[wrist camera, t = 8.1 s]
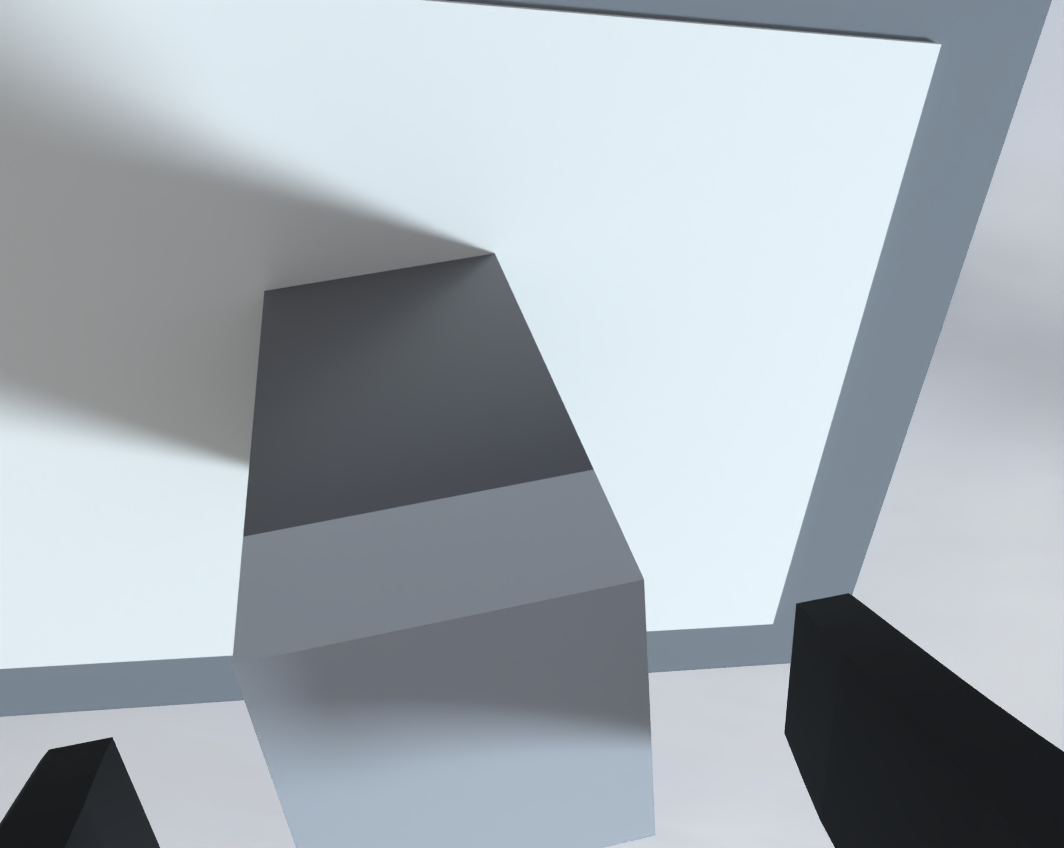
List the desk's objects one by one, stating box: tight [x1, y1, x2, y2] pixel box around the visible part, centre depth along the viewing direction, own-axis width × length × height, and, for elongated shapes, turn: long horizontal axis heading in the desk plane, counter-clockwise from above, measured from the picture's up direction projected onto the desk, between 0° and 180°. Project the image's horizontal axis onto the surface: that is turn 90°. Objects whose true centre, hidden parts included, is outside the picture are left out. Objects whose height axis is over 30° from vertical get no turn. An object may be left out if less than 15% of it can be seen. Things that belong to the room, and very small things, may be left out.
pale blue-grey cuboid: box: [232, 253, 655, 848], centre depth 14 cm, size 4×4×9 cm
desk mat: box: [0, 0, 1052, 717], centre depth 18 cm, size 22×16×1 cm
